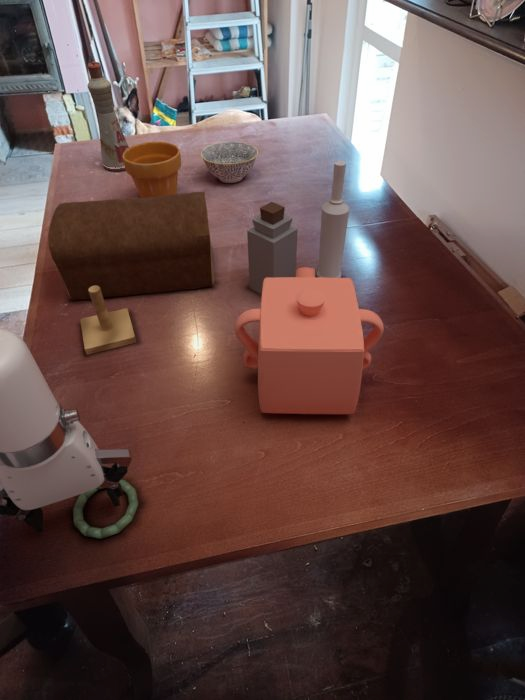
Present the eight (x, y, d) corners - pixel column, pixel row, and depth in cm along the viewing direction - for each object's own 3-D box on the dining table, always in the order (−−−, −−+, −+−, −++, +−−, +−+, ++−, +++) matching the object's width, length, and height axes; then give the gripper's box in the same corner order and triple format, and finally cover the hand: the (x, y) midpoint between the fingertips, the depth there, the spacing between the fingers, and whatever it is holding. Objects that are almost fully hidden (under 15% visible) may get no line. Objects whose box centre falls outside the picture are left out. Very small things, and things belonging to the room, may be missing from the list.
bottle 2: (315, 286, 100) (324, 168, 82) (317, 271, 103) (326, 156, 86) (340, 288, 99) (354, 170, 81) (341, 273, 103) (355, 158, 85)
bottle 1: (105, 161, 147) (79, 57, 128) (135, 159, 148) (113, 55, 128) (101, 173, 141) (73, 66, 121) (132, 171, 142) (110, 64, 122)
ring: (77, 548, 61) (74, 544, 60) (72, 492, 66) (69, 488, 65) (143, 526, 63) (141, 521, 62) (132, 473, 68) (131, 469, 67)
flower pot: (195, 203, 126) (189, 154, 117) (146, 219, 121) (136, 169, 112) (171, 184, 135) (164, 137, 126) (124, 198, 129) (113, 149, 120)
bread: (80, 256, 109) (57, 190, 98) (210, 245, 112) (203, 178, 100) (68, 306, 96) (41, 235, 85) (216, 291, 99) (208, 221, 88)
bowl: (226, 162, 145) (225, 136, 140) (269, 174, 138) (269, 148, 133) (191, 181, 136) (188, 154, 131) (235, 195, 129) (234, 168, 124)
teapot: (244, 317, 93) (239, 236, 80) (361, 318, 92) (374, 237, 79) (234, 421, 75) (227, 337, 62) (379, 423, 74) (401, 339, 61)
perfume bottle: (249, 287, 99) (246, 208, 87) (271, 273, 103) (271, 195, 90) (273, 301, 96) (273, 220, 84) (295, 286, 100) (298, 206, 87)
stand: (86, 355, 86) (69, 310, 79) (82, 324, 92) (65, 280, 85) (136, 342, 88) (124, 297, 81) (128, 313, 94) (116, 269, 87)
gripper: (107, 384, 55) (139, 464, 67) (-57, 430, 51) (9, 507, 63) (116, 434, 50) (149, 511, 62) (-64, 490, 46) (9, 561, 58)
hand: (79, 509), depth 62 cm, fingers open, 9 cm apart
